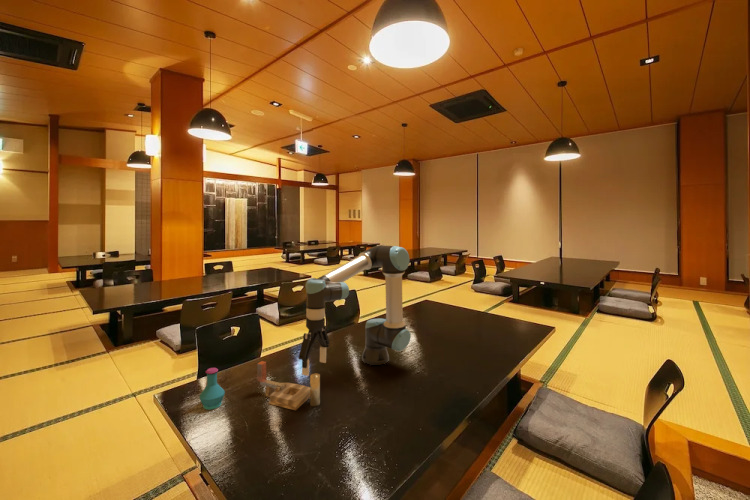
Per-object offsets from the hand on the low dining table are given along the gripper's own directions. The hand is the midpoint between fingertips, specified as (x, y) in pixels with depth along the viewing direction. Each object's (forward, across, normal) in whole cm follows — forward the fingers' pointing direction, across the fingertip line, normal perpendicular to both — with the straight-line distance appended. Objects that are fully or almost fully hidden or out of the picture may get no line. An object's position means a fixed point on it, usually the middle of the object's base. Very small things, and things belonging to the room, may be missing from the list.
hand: (314, 368), depth 134 cm
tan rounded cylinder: (+15, 0, 0) cm, 15 cm away
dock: (+15, +1, -13) cm, 20 cm away
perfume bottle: (+16, +16, -38) cm, 44 cm away
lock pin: (+11, +1, -21) cm, 24 cm away
